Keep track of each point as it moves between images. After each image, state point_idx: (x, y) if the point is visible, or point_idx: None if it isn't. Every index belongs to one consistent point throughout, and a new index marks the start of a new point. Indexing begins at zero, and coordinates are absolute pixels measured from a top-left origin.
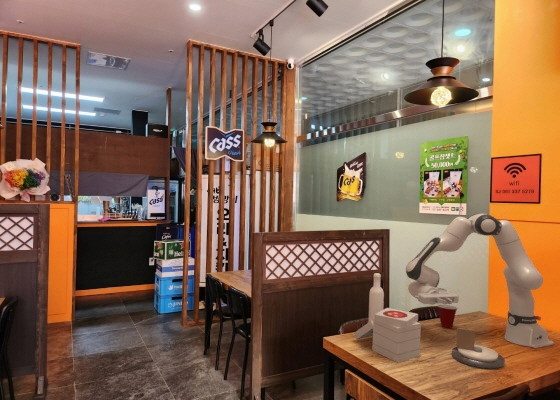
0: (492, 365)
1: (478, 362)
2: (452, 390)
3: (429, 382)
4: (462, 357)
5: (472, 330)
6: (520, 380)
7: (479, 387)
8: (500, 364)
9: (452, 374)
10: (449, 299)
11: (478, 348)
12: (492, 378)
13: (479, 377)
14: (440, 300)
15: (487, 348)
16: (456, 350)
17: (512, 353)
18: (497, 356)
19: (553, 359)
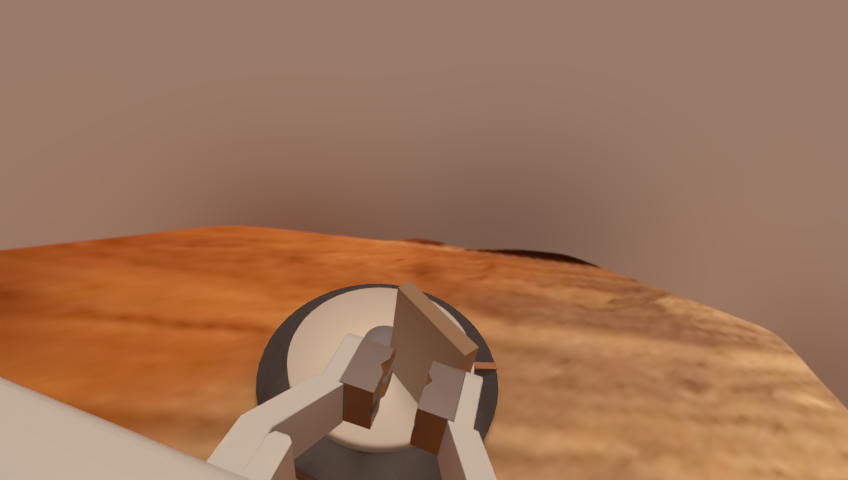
0: (429, 296)
1: (461, 326)
2: (673, 309)
3: (733, 365)
4: (482, 383)
5: (418, 288)
6: (422, 248)
7: (578, 283)
8: (393, 286)
9: (609, 357)
10: (321, 375)
11: (384, 338)
12: (490, 286)
13: (526, 306)
14: (484, 475)
15: (303, 340)
16: (429, 452)
17: (151, 328)
18: (368, 288)
19: (119, 240)
